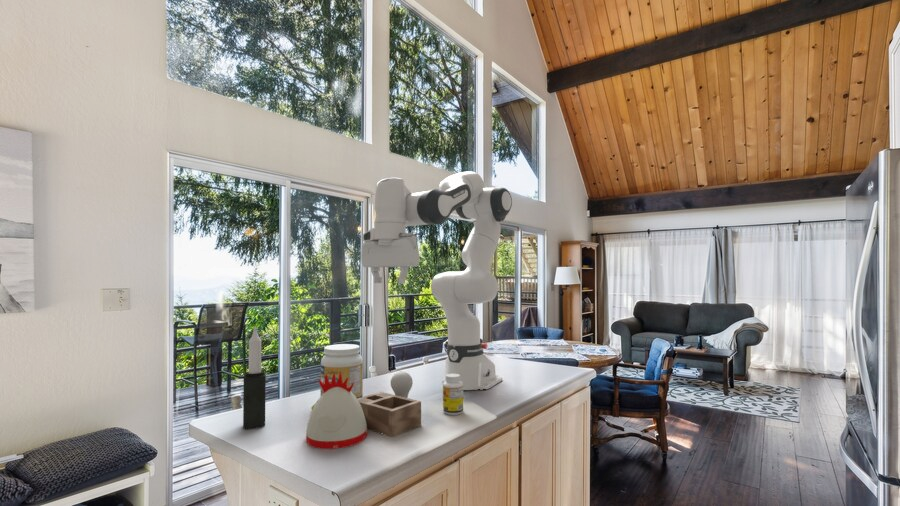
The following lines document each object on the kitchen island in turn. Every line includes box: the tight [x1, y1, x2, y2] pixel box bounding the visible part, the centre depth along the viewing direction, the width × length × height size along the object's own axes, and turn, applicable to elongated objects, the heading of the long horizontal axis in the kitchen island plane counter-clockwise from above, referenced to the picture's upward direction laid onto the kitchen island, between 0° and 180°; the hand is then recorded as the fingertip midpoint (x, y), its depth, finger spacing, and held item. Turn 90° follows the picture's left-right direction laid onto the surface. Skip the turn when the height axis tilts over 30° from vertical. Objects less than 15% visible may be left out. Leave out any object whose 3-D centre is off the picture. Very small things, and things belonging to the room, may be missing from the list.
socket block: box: [357, 391, 422, 438], centre depth 112 cm, size 10×15×6 cm, turn 51°
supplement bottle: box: [442, 374, 464, 416], centre depth 122 cm, size 6×6×10 cm
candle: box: [242, 326, 267, 430], centre depth 113 cm, size 5×5×25 cm
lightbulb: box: [390, 370, 414, 398], centre depth 123 cm, size 6×6×11 cm
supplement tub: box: [320, 343, 364, 398], centre depth 130 cm, size 12×12×17 cm
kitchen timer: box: [305, 373, 368, 450], centre depth 104 cm, size 14×14×15 cm
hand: (389, 283), depth 123 cm, fingers open, 8 cm apart
